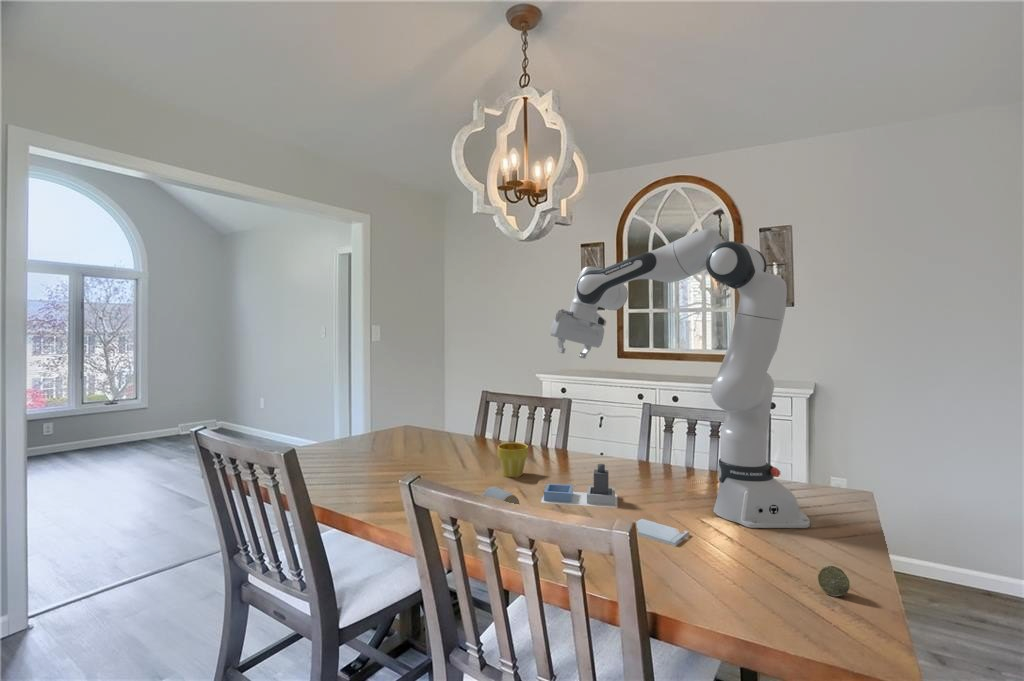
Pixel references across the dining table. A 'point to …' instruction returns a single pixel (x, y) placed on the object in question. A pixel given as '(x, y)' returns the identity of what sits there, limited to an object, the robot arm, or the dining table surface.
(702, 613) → the dining table surface
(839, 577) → the lime
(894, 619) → the dining table surface
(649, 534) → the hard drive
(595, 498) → the plate
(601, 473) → the plug
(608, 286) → the robot arm
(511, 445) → the plant pot
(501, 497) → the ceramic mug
